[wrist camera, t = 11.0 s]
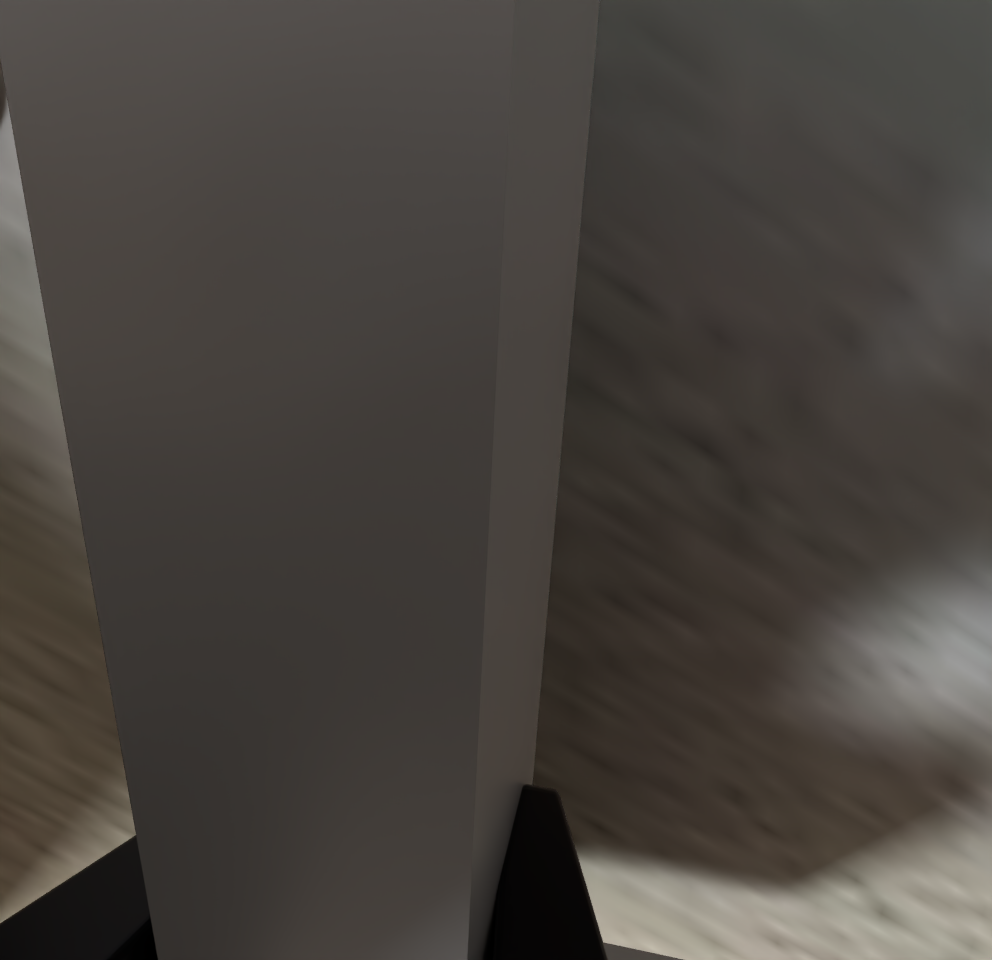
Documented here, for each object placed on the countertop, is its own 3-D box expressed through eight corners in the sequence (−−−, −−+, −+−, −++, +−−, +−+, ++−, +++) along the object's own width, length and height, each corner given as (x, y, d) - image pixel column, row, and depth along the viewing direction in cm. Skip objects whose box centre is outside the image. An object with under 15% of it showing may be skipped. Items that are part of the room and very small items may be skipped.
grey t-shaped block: (990, -134, 6) (1636, -748, 2) (712, 1026, 10) (743, 1478, 7) (40, -119, 7) (-662, -469, 3) (190, 908, 12) (-19, 1233, 8)
